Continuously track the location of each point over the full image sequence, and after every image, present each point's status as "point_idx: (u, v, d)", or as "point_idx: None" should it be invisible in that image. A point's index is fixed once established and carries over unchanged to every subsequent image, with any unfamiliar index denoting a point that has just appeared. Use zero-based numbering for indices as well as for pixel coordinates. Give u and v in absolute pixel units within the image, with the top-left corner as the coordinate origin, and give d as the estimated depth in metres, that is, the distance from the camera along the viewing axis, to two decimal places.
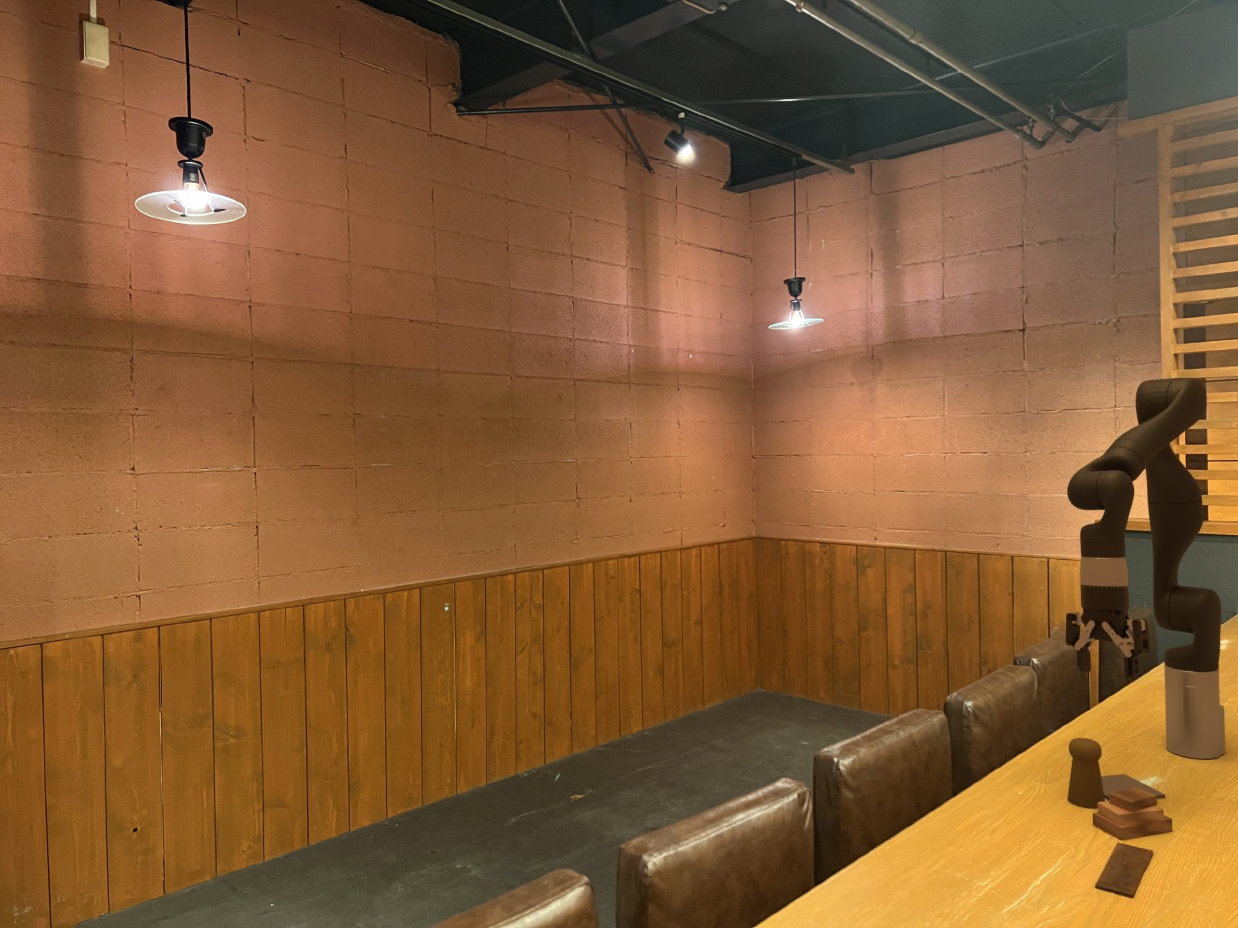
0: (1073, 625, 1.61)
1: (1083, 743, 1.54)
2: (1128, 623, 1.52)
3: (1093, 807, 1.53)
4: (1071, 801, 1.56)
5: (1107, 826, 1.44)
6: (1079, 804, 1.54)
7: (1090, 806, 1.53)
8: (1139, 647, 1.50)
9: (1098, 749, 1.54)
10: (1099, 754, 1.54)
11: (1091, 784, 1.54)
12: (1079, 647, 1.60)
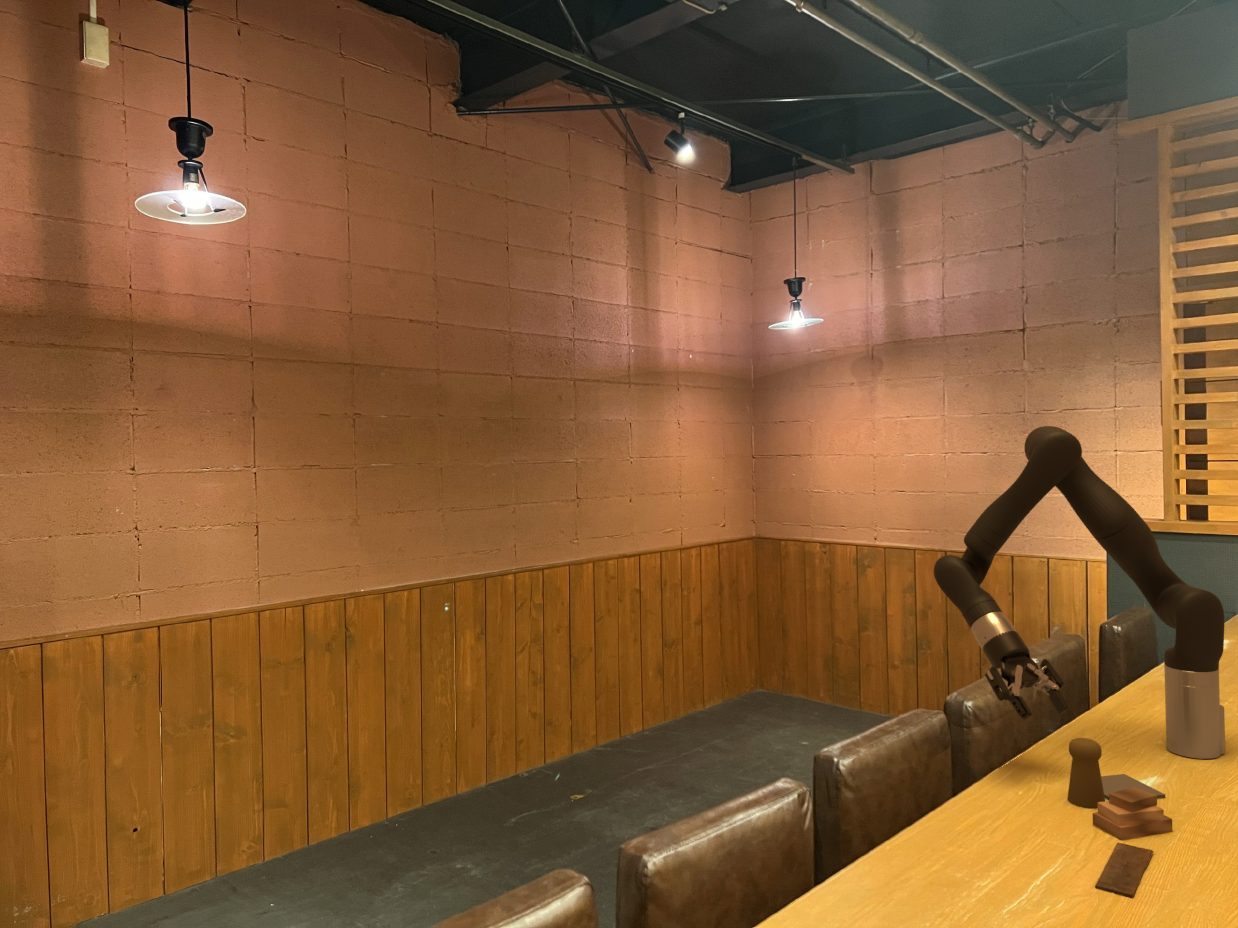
0: (1043, 674, 1.71)
1: (1083, 743, 1.54)
2: None
3: (1093, 807, 1.53)
4: (1071, 801, 1.56)
5: (1107, 826, 1.44)
6: (1079, 804, 1.54)
7: (1090, 806, 1.53)
8: None
9: (1098, 749, 1.54)
10: (1099, 754, 1.54)
11: (1090, 784, 1.54)
12: None
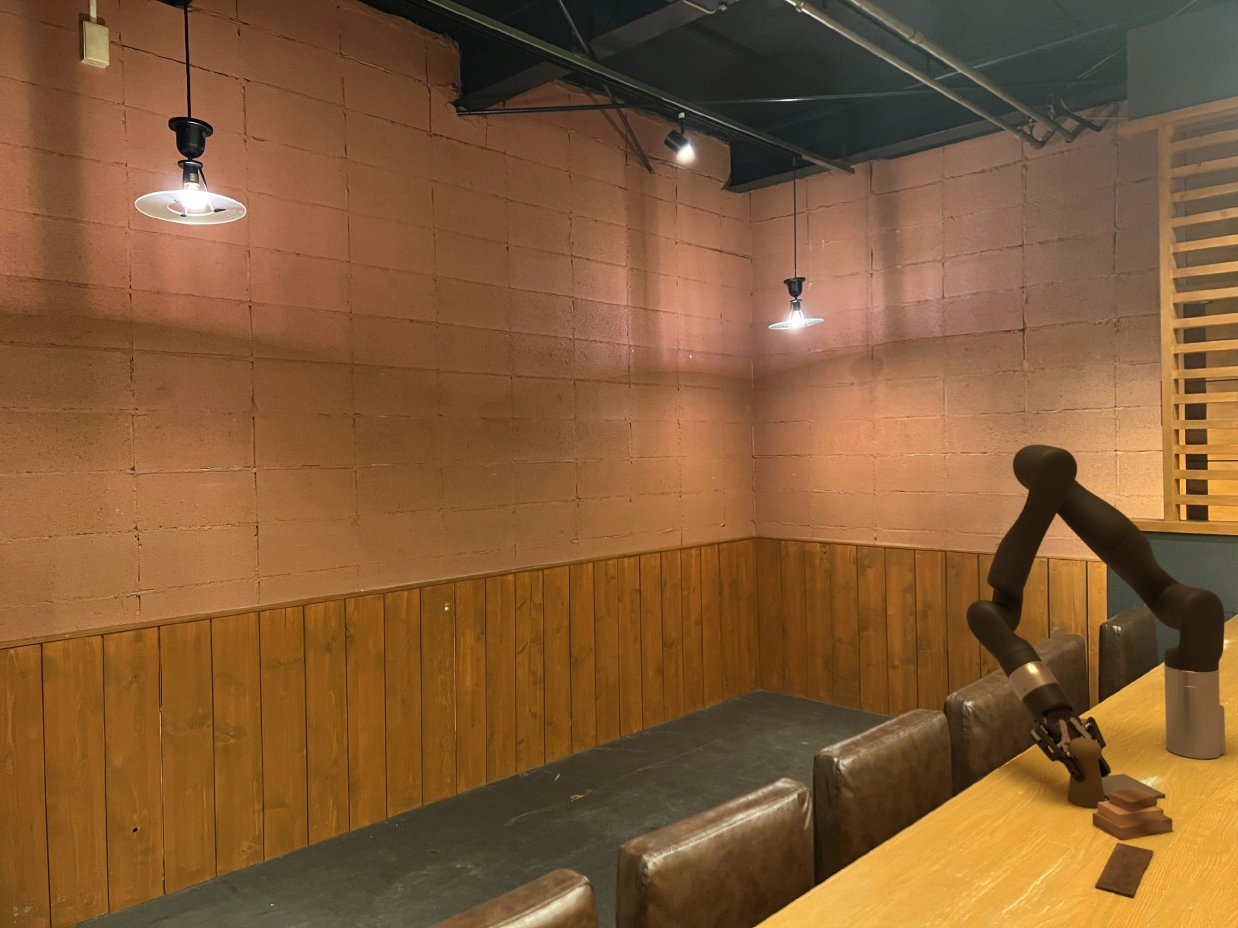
0: (1086, 732, 1.62)
1: (1083, 743, 1.54)
2: None
3: (1093, 807, 1.53)
4: (1071, 801, 1.56)
5: (1107, 826, 1.44)
6: (1079, 804, 1.54)
7: (1090, 806, 1.53)
8: None
9: (1098, 749, 1.54)
10: (1099, 754, 1.54)
11: (1091, 784, 1.54)
12: None
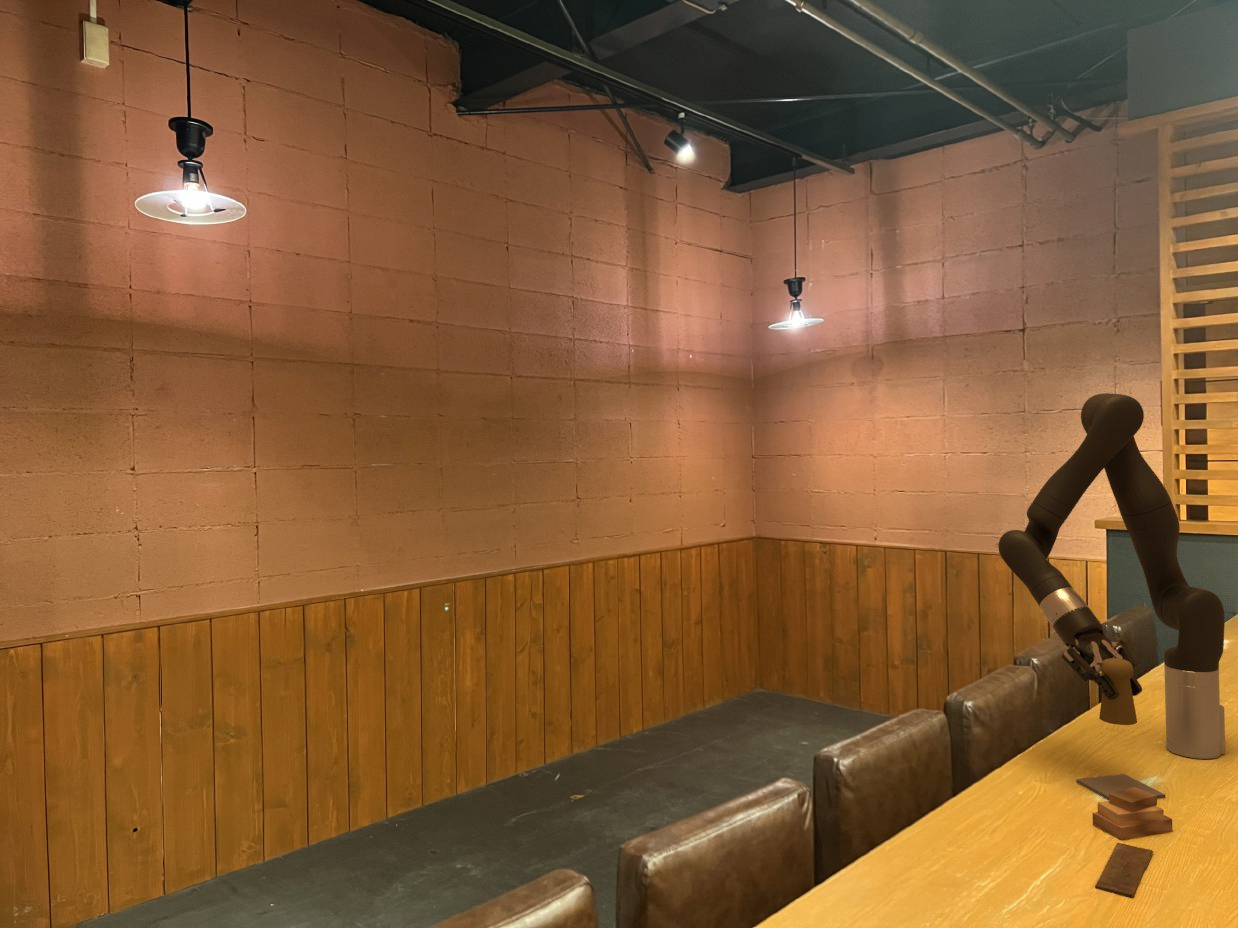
0: None
1: (1115, 662, 1.59)
2: None
3: (1125, 724, 1.57)
4: (1103, 719, 1.60)
5: (1107, 826, 1.44)
6: (1111, 721, 1.58)
7: (1122, 723, 1.57)
8: None
9: (1130, 667, 1.58)
10: (1131, 672, 1.58)
11: (1123, 701, 1.58)
12: None
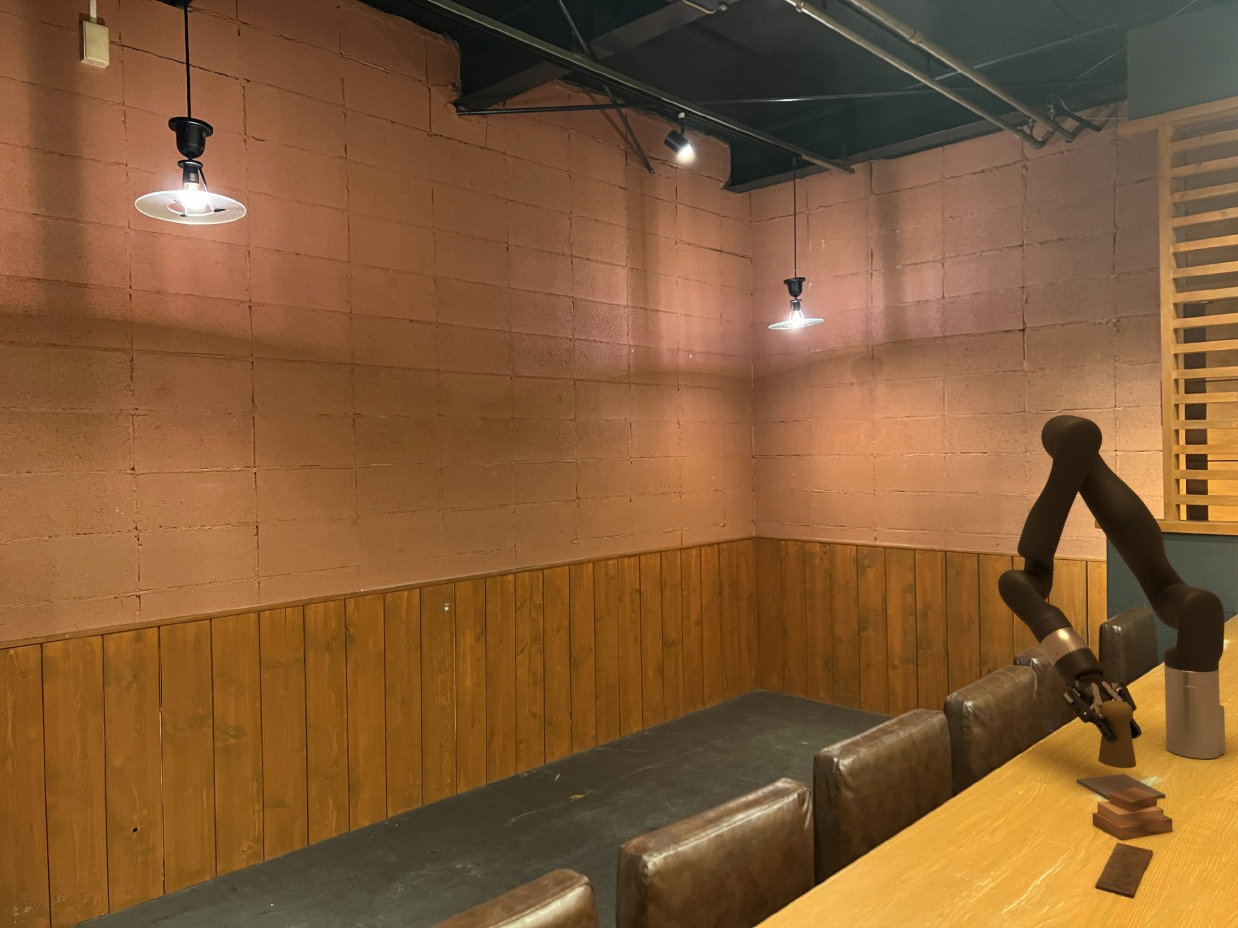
0: None
1: (1115, 705, 1.59)
2: None
3: (1124, 767, 1.58)
4: (1102, 761, 1.60)
5: (1107, 826, 1.44)
6: (1110, 764, 1.59)
7: (1121, 766, 1.58)
8: None
9: (1130, 710, 1.58)
10: (1130, 715, 1.58)
11: (1122, 744, 1.58)
12: None
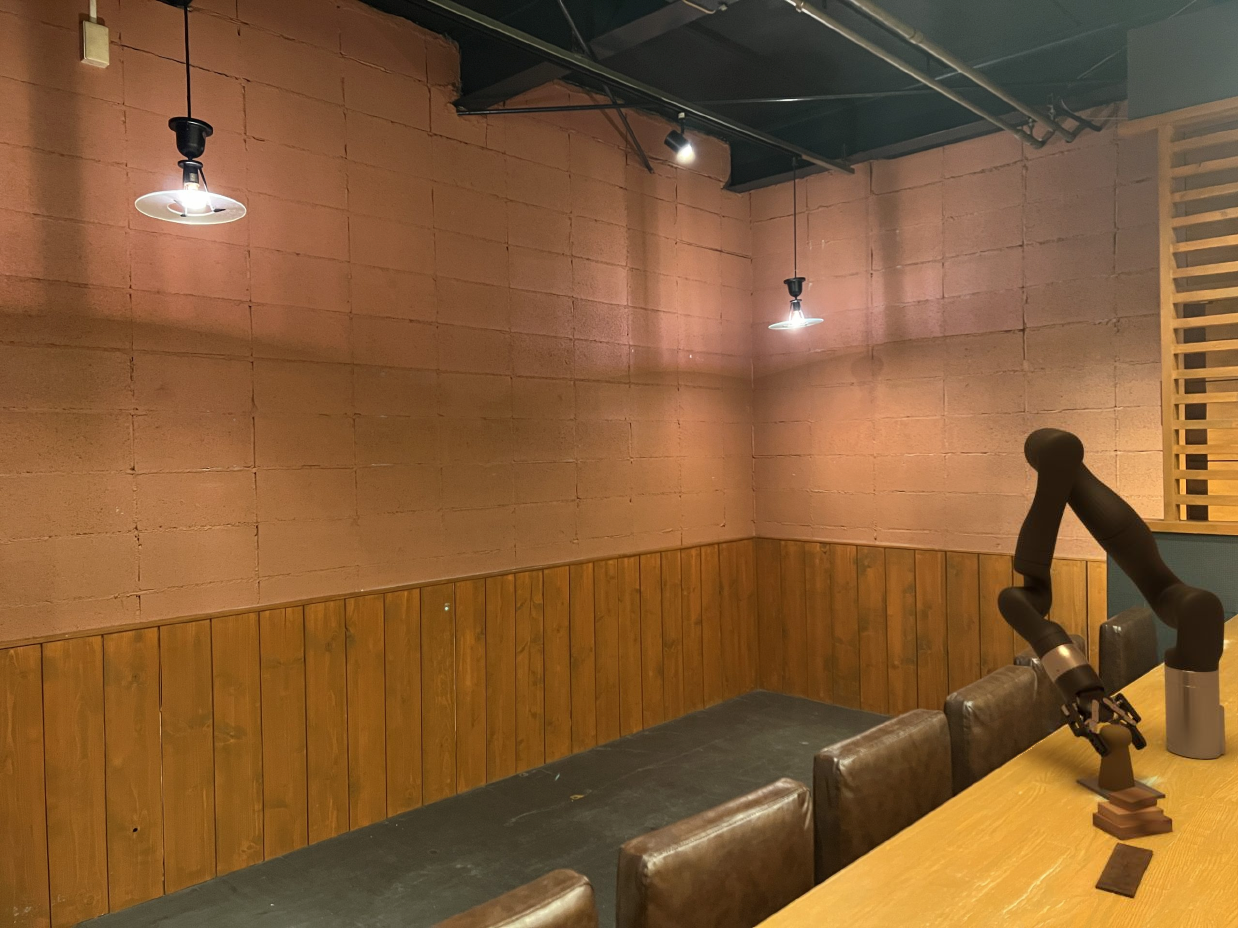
0: None
1: (1113, 729, 1.59)
2: None
3: None
4: (1102, 785, 1.60)
5: (1107, 826, 1.44)
6: (1110, 788, 1.59)
7: None
8: None
9: (1129, 735, 1.58)
10: (1129, 739, 1.58)
11: (1121, 769, 1.58)
12: None
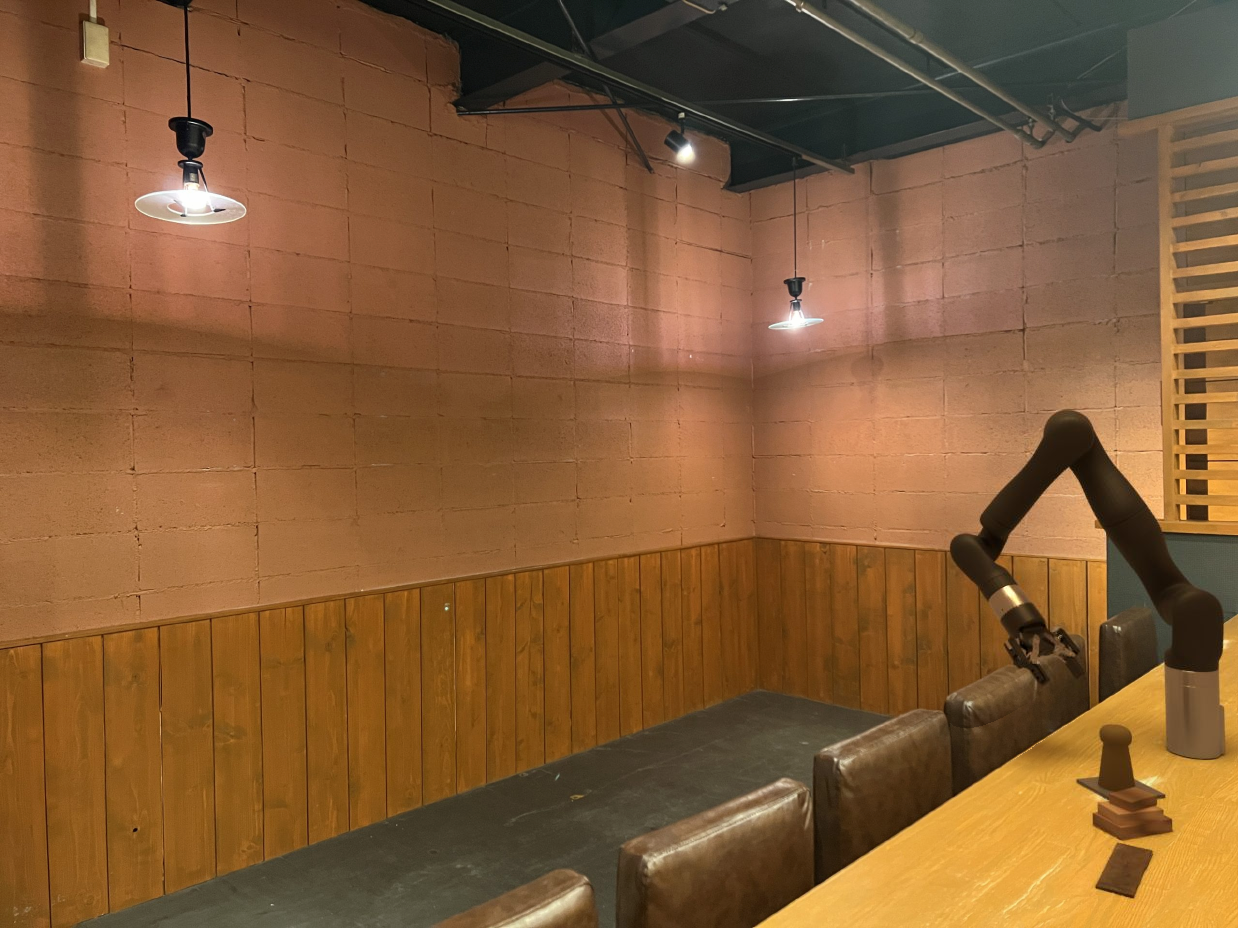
0: None
1: (1113, 729, 1.59)
2: None
3: None
4: (1102, 785, 1.60)
5: (1107, 826, 1.44)
6: (1110, 788, 1.59)
7: None
8: None
9: (1129, 735, 1.58)
10: (1129, 739, 1.58)
11: (1121, 769, 1.58)
12: None
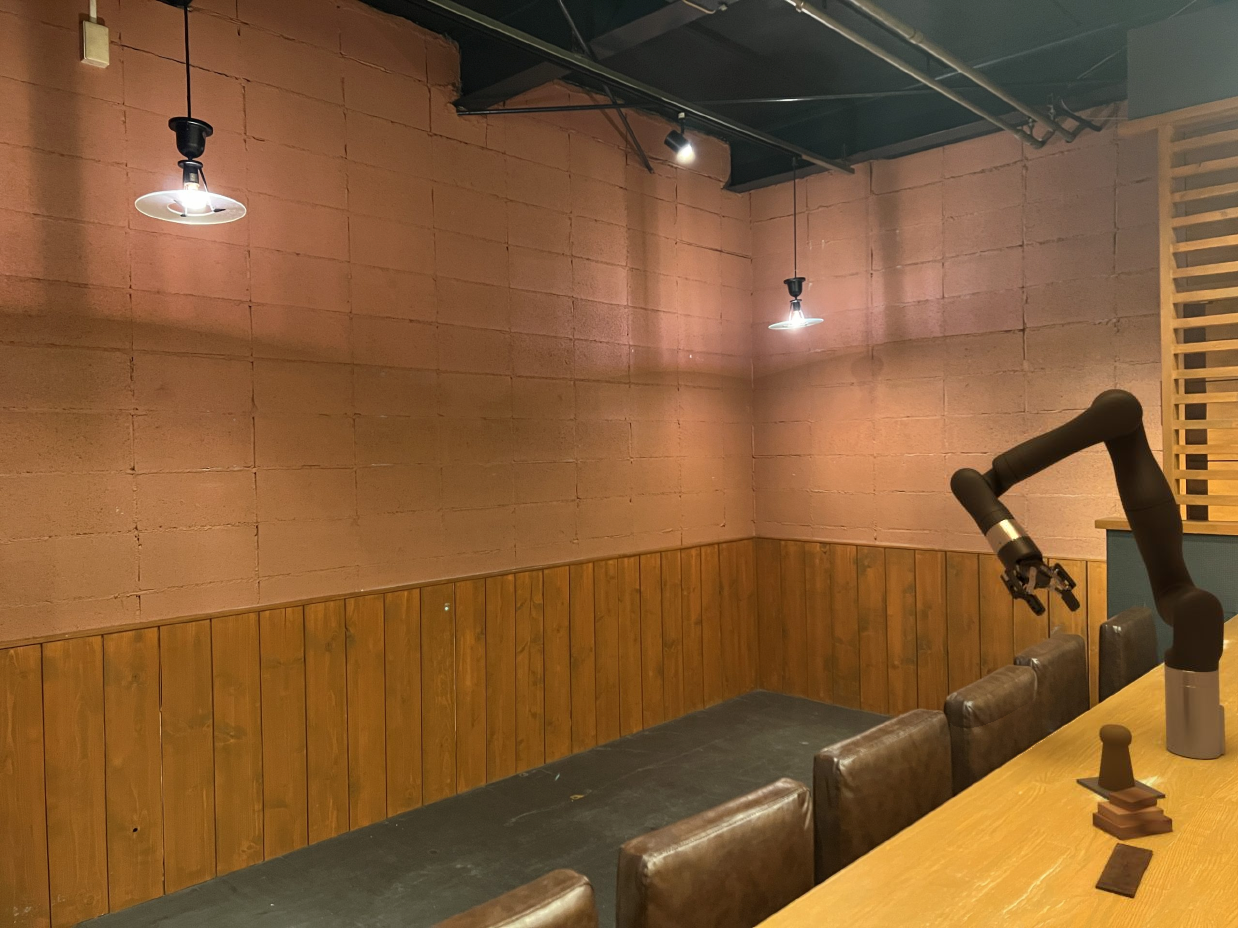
0: None
1: (1113, 730, 1.59)
2: None
3: None
4: (1102, 785, 1.60)
5: (1107, 826, 1.44)
6: (1110, 788, 1.59)
7: None
8: None
9: (1129, 735, 1.58)
10: (1129, 739, 1.58)
11: (1121, 769, 1.58)
12: (1060, 594, 1.76)
